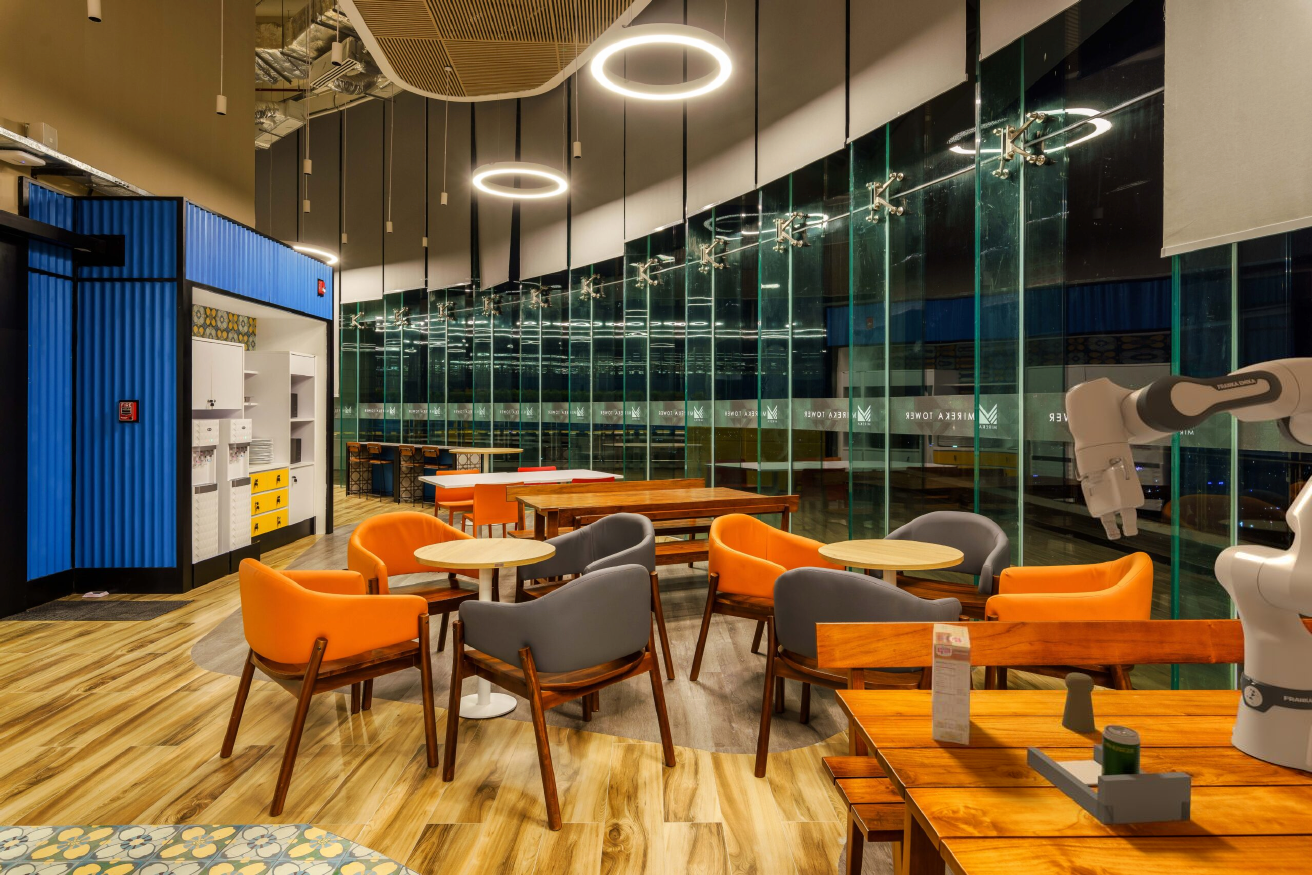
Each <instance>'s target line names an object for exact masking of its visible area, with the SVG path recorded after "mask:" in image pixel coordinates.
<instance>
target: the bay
mask: <svg viewBox="0 0 1312 875" xmlns="http://www.w3.org/2000/svg"><path fill="white" fill-rule="evenodd" d="M1092 751H1093V758H1092V759H1093V760H1092V759H1091V760H1090V759H1089V760H1087V759H1086V760H1070V761H1069V760H1067V761H1066V760H1065V761H1064V760H1063V761H1055V760H1053V759H1052V758H1051V757H1050V756H1048V755H1047V754H1045V753H1044V752H1043V751H1041V750H1040V749H1038V748H1037V747H1036V746H1033V747H1032V746H1030V747H1028V746H1027V747H1026V764H1027V765H1028V766H1030V767H1031V768H1032V769H1033V770H1034V771H1036V772H1037V773H1038V774H1040V775H1041V776H1042V777H1043V778H1044V779H1046V780H1047V781H1048V782H1050V783H1051V784H1052V785H1054V787H1056V788H1057V789H1058V790H1060V791H1061V792H1062V793H1064V794H1065V795H1066V796H1067V795H1068V796H1067V797H1069V796H1070V797H1071V798H1072V799H1073V800H1072V799H1071V798H1070V797H1069V798H1070V799H1071V800H1072V801H1074V802H1075V803H1076V802H1077V803H1076V804H1078V805H1079V806H1080V807H1082V809H1083V810H1085V811H1087V812H1088V813H1089V814H1090V815H1091V816H1092V817H1094V818H1095V819H1097V820H1098V821H1099V822H1100V823H1102V824H1103V825H1116V824H1135V823H1139V824H1140V823H1154V822H1155V823H1157V822H1174V821H1175V822H1176V821H1190V820H1191V805H1192V803H1191V801H1192V799H1191V798H1192V776H1191V775H1190V774H1187V772H1184V771H1173V772H1155V773H1154V772H1151V773H1149V772H1148V773H1147V772H1146V771H1144V770H1143V769H1141V768H1140V774H1127V775H1105V776H1101V770H1102V743H1101V744H1100V743H1099V744H1098V743H1097V744H1093V750H1092ZM1090 786H1097V791H1095V789H1093V788H1091V787H1090ZM1172 820H1174V821H1172Z"/></svg>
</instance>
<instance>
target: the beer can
mask: <svg viewBox="0 0 1312 875" xmlns="http://www.w3.org/2000/svg"><path fill="white" fill-rule="evenodd" d="M1101 744H1102V770H1101V776H1105V775H1127V774H1140V769H1141V739H1140V734H1139V732H1137V731H1136V730H1134V729H1132V728H1129V727H1126V726H1123V725H1115V724H1109V725H1105V726H1104V728H1103V732H1102V741H1101Z"/></svg>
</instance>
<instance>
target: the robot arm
mask: <svg viewBox="0 0 1312 875" xmlns="http://www.w3.org/2000/svg"><path fill="white" fill-rule="evenodd" d="M1064 403H1065V411H1066V412H1065V413H1066V418H1067V422H1068V429H1069V432H1070V433H1071V435H1072V436H1073V440H1074V454H1075V459H1076V469H1075V476H1076V480H1077V481H1081V483H1080V484H1081V490H1082V494H1083V496H1084V500H1085V503H1086V506H1087V509H1088V512H1089V514H1090V515H1091V517H1093V518H1100V521H1101V524H1102V525H1103V528H1104V530H1105V532H1106V535H1107V538H1108V539H1109V540H1118V539H1120V538H1121V537H1122V536H1121V532H1120V529H1119V528H1118V526H1117V522H1116V515H1117V514H1120V517H1121V520H1122V526H1121V527H1122V531H1123V534H1124V536H1126V537H1130V536H1136V535H1138V534H1139V530H1138V527H1137V519H1138V518H1137V510H1136V508H1139V507H1144V505H1145V496H1144V492H1143V488H1142V485H1141V482H1140V479H1139V475H1138V473H1137V470H1136V469H1135V468H1136V467H1135V463H1134V458H1133V455H1132V451H1131V447H1130V446H1131V445H1143V444H1148V443H1150V442H1153V441H1156V440H1159V439H1162V438H1165V437H1167V436H1171V435H1174V434H1177V433H1180V432H1184V431H1188V430H1191V429H1192V430H1193V429H1194V428H1196V427H1198V426H1199V425H1201V424H1202V423H1204V421H1206V420H1207V419H1208V418H1209V417H1211V416H1213V415H1215V414H1220V413H1225V412H1228V413H1229V414H1230V415H1231V416H1233V417H1234V418H1236V419H1238V420H1240V421H1242V422H1264V421H1265V422H1266V421H1273V420H1276V425H1277V428H1278V431H1279V433H1280V435H1282V437H1283V438H1284V439H1286V440H1287V441H1289V442H1291V443H1293V444H1296V445H1300V446H1304V447H1312V357H1293V358H1292V357H1290V358H1282V359H1281V358H1280V359H1275V360H1270V361H1264V362H1259V363H1255V364H1252V365H1251V364H1250V365H1248V366H1245V367H1242V368H1239V369H1237V370H1235V371H1233V372H1230V373H1228V374H1227V375H1222V376H1217V377H1212V378H1196V377H1191V376H1185V375H1180V374H1178V375H1177V374H1169V375H1163V376H1162V377H1159V378H1158V379H1155V381H1153V382H1151V383H1150V384H1148V385H1147V386H1145V387H1142V388H1140V389H1138V390H1132V389H1130V388H1129V389H1128V388H1125V387H1122V386H1120V385H1118V384H1116V383H1114V382H1112V381H1111V380H1110V379H1109V378H1108V377H1106V376H1105V377H1102V376H1099V377H1095V378H1092V379H1088V380H1085V381H1082V382H1081V383H1078V384H1076V385H1074V386H1072V387H1071V388H1069V389H1068V390H1067V392H1066V394H1065V401H1064ZM1285 520H1286V523H1287V525H1288V527H1289V528H1290V529H1291V530H1292V531H1293V532H1294V539H1293V541H1292V545H1291V546H1290V548H1288V549H1287V550H1283V549H1278V548H1273V547H1269V546H1265V545H1257V544H1254V545H1253V544H1246V545H1245V544H1242V545H1241V544H1240V545H1232V546H1229V547H1226V548H1225V549H1223V550H1222V551H1221V552H1220V553H1219V555H1218V556H1217V558H1216V560H1215V564H1214V574H1215V577H1216V579H1217V581H1218V582H1219V584H1220V585H1221V586H1222V587H1223V588H1224V590H1225V591H1226V592H1227V593H1228V595H1229V596H1230V597H1231V600H1232V602H1233V604H1234V606H1235V608H1236V610H1237V613H1238V617H1239V619H1240V622H1241V626H1242V630H1243V636H1244V642H1243V645H1244V663H1243V664H1244V667H1243V668H1244V670H1243V671H1242V672H1241V675H1240V691H1241V696H1240V697H1239V703H1238V708H1237V715H1236V721H1235V725H1234V726H1232V730H1231V733H1232V735H1231V738H1230V743H1231V744H1232V745H1233V746H1234V747H1235V748H1237V749H1238V750H1240V751H1242V752H1243V753H1246V754H1248V755H1250V756H1253V757H1254V758H1257V759H1260V760H1263V761H1266V762H1269V763H1272V764H1275V765H1280V766H1284V767H1287V768H1288V767H1289V768H1293V769H1297V770H1298V769H1299V770H1304V771H1306V772H1310V773H1312V633H1311V632H1310V631H1309V630H1308V629H1307V627H1305V625H1304V622H1303V621H1302V620H1301V617H1300V615H1303V616H1305V617H1310V618H1312V475H1311V476H1310V477H1309V479H1308V480H1307V482H1306V483H1305V484H1304V486H1303V487H1302V489H1301V490H1300V492H1299V493H1298V495H1297V496H1296V498H1295V499H1294V501H1292V504H1291V505H1290V507H1289V508H1288V510H1287V511H1286V514H1285ZM1299 614H1300V615H1299Z"/></svg>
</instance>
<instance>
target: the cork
mask: <svg viewBox="0 0 1312 875" xmlns="http://www.w3.org/2000/svg"><path fill="white" fill-rule="evenodd" d="M1064 682H1065V686H1066V688H1067V692H1066V699H1065V703H1064V711H1063V715H1062V721H1061V725H1062V727H1064V728H1065V729H1067V730H1068V731H1069V730H1070V731H1072V732H1075V733H1081V734H1092V733H1095V732H1096V725H1095V717H1094V716H1095V715H1094V707H1093V699H1092V692H1093V691H1094V689H1095V682H1094V680H1093V678H1092V677H1091V676H1089V675H1088V674H1085V673H1080V672H1070V673H1067V675H1066V676H1065V678H1064Z"/></svg>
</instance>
